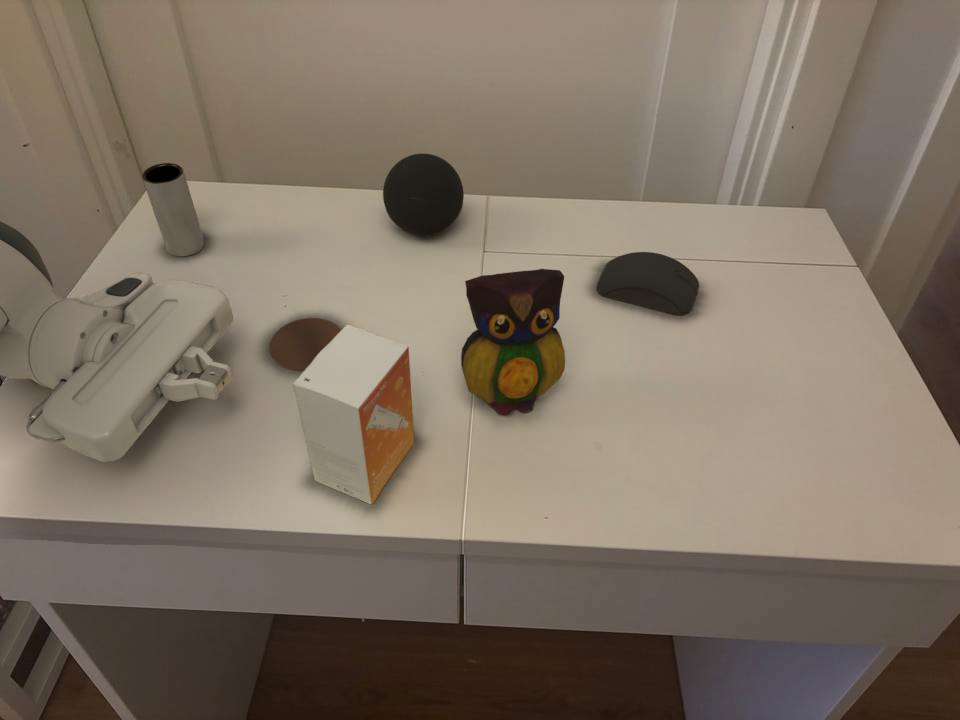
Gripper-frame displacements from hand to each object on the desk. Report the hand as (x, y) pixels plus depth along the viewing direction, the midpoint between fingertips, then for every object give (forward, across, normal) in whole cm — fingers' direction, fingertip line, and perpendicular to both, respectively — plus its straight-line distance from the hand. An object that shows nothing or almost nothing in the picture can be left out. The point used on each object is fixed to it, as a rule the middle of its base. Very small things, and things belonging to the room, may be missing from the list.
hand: (223, 383), depth 68 cm
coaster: (+1, +13, +6) cm, 14 cm away
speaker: (+6, +37, +7) cm, 38 cm away
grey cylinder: (-21, +24, +7) cm, 33 cm away
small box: (+13, 0, +7) cm, 15 cm away
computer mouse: (+35, +34, +7) cm, 49 cm away
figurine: (+24, +12, +7) cm, 28 cm away
